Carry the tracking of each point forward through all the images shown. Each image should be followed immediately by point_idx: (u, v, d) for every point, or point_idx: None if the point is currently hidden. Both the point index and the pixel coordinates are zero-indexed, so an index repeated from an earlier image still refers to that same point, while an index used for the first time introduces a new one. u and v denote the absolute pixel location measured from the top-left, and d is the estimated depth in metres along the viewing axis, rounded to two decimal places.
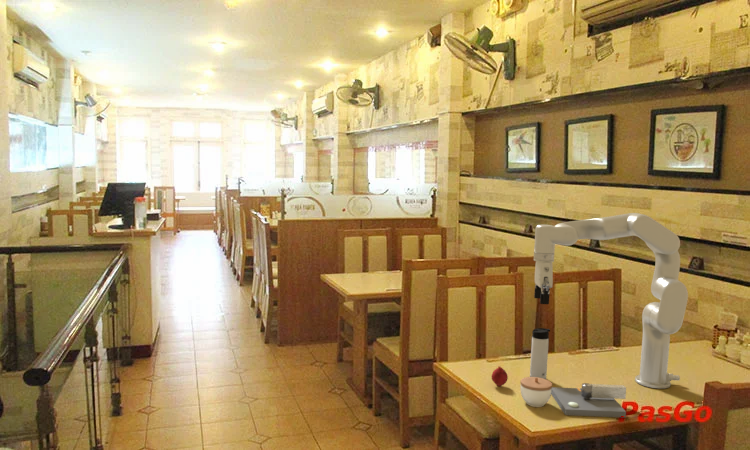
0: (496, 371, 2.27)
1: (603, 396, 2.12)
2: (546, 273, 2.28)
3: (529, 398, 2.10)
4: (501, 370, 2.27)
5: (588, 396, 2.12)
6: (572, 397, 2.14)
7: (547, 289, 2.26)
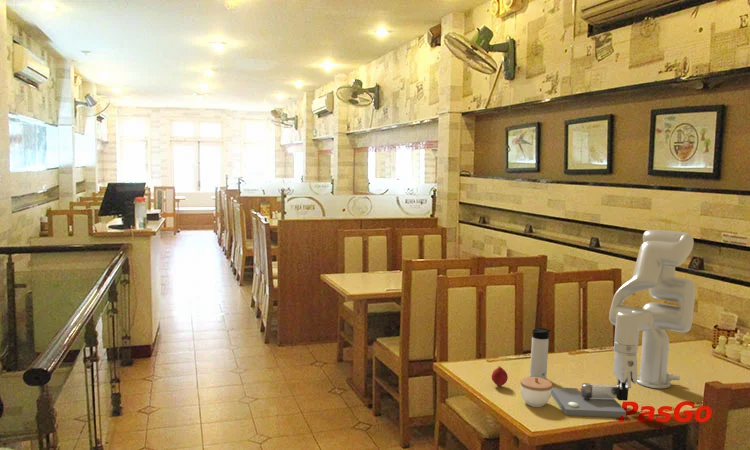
0: (496, 371, 2.27)
1: (603, 396, 2.13)
2: (630, 367, 2.04)
3: (529, 398, 2.10)
4: (501, 370, 2.27)
5: (589, 396, 2.12)
6: (572, 397, 2.14)
7: None
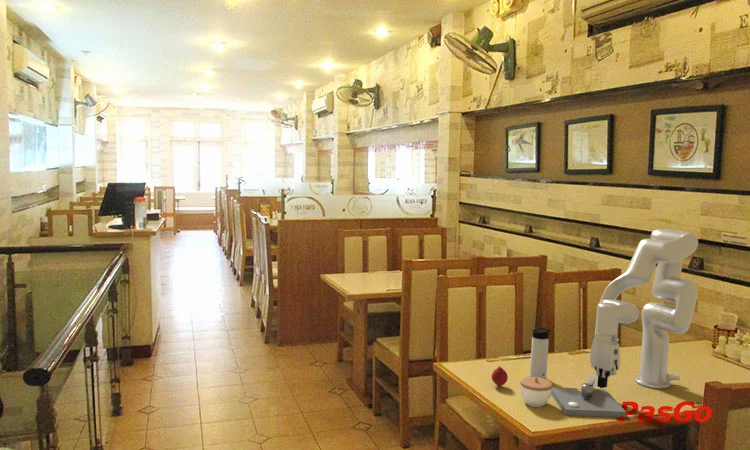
0: (496, 371, 2.27)
1: (593, 390, 2.18)
2: (616, 356, 2.15)
3: (529, 398, 2.10)
4: (501, 370, 2.27)
5: None
6: (572, 397, 2.14)
7: None
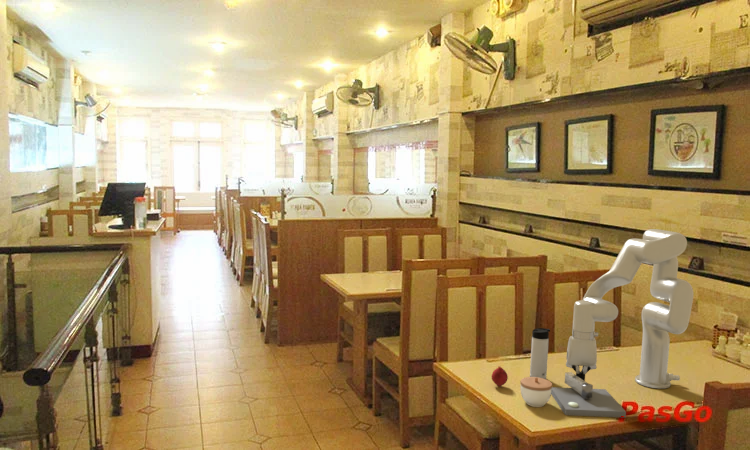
0: (496, 371, 2.27)
1: None
2: None
3: (529, 398, 2.10)
4: (501, 370, 2.27)
5: None
6: (572, 397, 2.14)
7: None
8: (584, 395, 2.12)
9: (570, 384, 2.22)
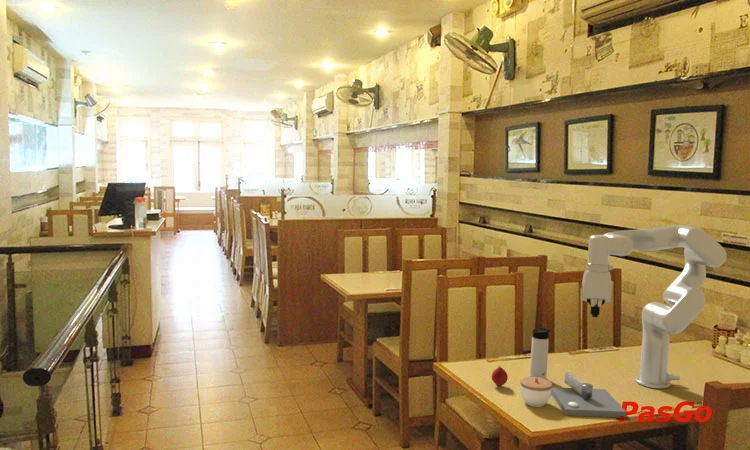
0: (496, 371, 2.27)
1: None
2: None
3: (529, 398, 2.10)
4: (501, 370, 2.27)
5: None
6: (572, 397, 2.14)
7: None
8: (584, 395, 2.12)
9: (570, 384, 2.22)
